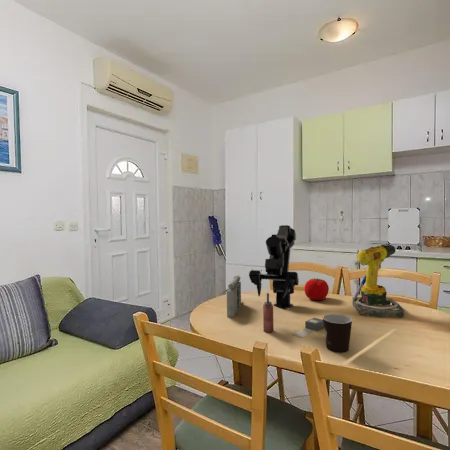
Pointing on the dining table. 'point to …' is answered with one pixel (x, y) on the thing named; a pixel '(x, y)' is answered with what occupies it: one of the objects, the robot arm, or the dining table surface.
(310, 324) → the finder
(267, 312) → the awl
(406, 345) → the dining table surface
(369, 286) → the cordless drill
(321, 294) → the tomato
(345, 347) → the coffee mug
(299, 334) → the subfloor panel
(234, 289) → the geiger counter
